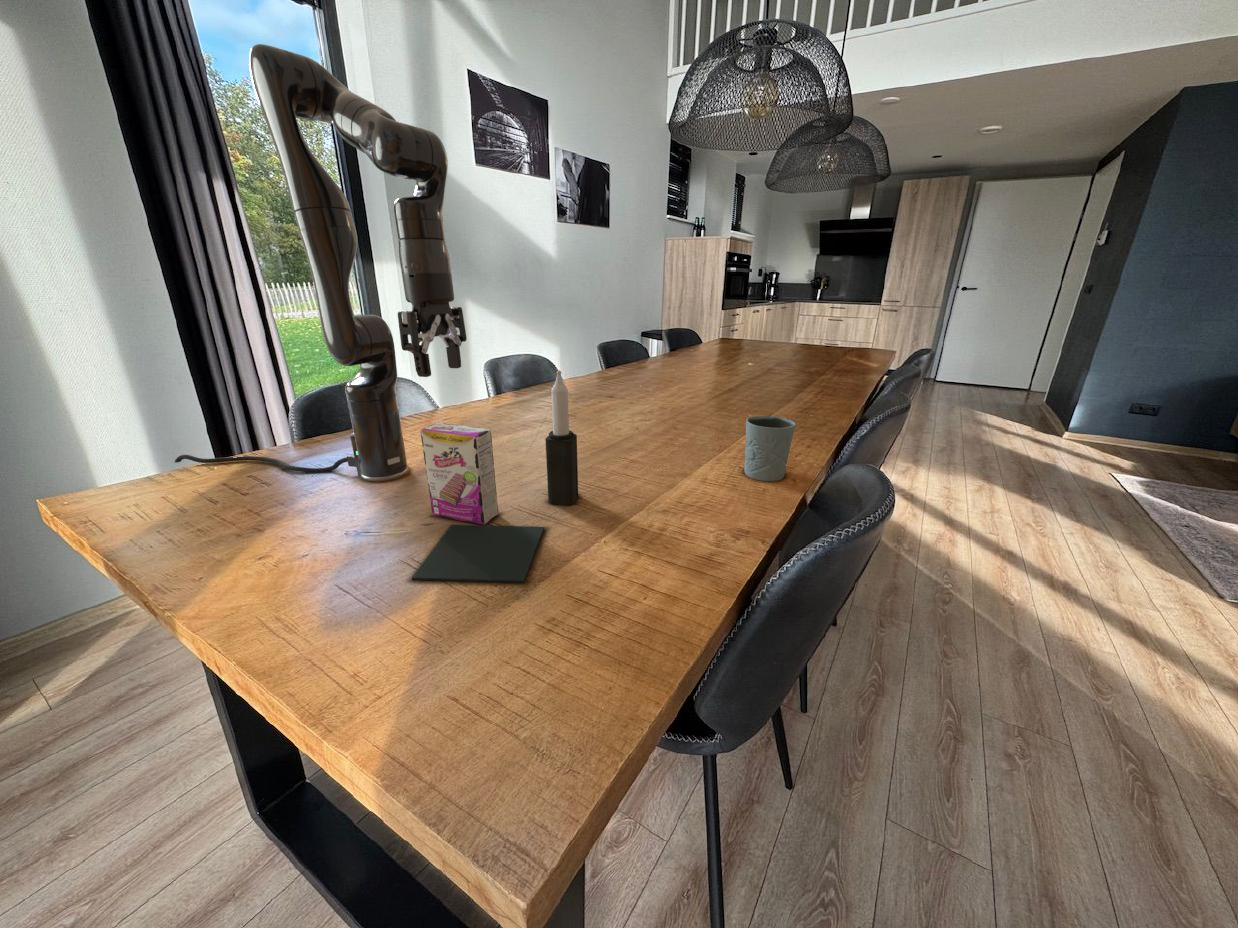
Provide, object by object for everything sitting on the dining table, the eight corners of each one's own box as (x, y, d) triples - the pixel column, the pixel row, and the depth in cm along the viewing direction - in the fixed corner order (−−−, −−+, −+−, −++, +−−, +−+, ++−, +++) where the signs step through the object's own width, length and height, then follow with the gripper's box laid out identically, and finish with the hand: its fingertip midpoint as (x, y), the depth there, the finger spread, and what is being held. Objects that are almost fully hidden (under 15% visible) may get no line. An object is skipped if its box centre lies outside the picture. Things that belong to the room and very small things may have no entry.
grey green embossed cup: (737, 478, 106) (742, 424, 102) (744, 463, 115) (749, 413, 110) (786, 485, 102) (794, 430, 98) (790, 469, 111) (797, 418, 107)
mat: (412, 580, 70) (411, 577, 69) (452, 526, 85) (451, 524, 84) (523, 583, 69) (523, 580, 69) (544, 528, 84) (544, 526, 84)
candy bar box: (430, 516, 88) (417, 429, 82) (448, 505, 92) (437, 421, 87) (484, 526, 85) (474, 436, 79) (500, 514, 89) (492, 427, 83)
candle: (572, 505, 93) (568, 373, 84) (546, 503, 93) (540, 372, 85) (579, 494, 97) (576, 368, 88) (555, 492, 98) (549, 367, 89)
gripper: (434, 272, 86) (446, 365, 92) (374, 270, 74) (393, 378, 79) (471, 271, 84) (481, 366, 90) (417, 270, 71) (433, 380, 77)
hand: (440, 372), depth 84 cm, fingers open, 8 cm apart
